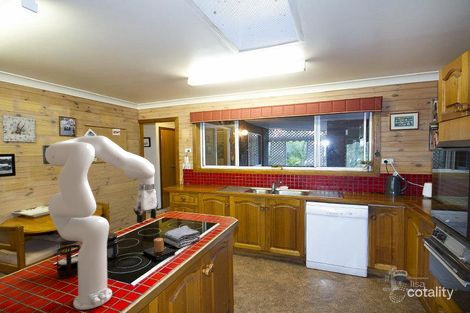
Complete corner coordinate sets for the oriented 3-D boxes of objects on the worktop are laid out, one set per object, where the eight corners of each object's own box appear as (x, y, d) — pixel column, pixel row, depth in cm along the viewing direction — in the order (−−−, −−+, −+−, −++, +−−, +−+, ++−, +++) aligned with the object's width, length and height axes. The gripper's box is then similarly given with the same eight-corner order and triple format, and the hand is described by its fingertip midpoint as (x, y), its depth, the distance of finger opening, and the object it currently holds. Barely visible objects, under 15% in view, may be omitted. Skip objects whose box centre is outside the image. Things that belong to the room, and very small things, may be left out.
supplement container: (116, 252, 135) (116, 231, 135) (119, 258, 127) (119, 236, 127) (95, 257, 130) (94, 235, 130) (97, 264, 121) (96, 240, 121)
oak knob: (160, 247, 134) (160, 236, 134) (165, 250, 131) (165, 238, 131) (152, 250, 131) (152, 239, 131) (157, 252, 127) (156, 241, 127)
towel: (163, 243, 147) (162, 231, 147) (186, 235, 162) (186, 224, 162) (178, 249, 138) (178, 236, 138) (201, 240, 152) (201, 228, 152)
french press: (54, 281, 104) (53, 229, 104) (55, 273, 112) (54, 224, 112) (85, 274, 111) (84, 224, 111) (84, 266, 119) (84, 220, 119)
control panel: (174, 255, 130) (174, 250, 130) (156, 262, 122) (156, 256, 122) (161, 248, 140) (161, 244, 140) (143, 254, 132) (143, 249, 132)
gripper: (139, 189, 116) (139, 225, 115) (163, 186, 132) (163, 217, 131) (128, 189, 118) (128, 223, 118) (152, 185, 134) (152, 216, 134)
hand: (146, 220), depth 125 cm, fingers open, 9 cm apart
